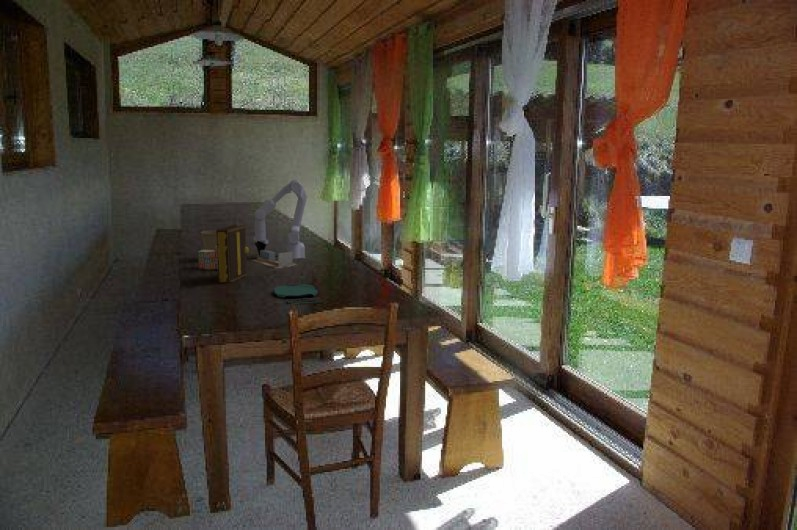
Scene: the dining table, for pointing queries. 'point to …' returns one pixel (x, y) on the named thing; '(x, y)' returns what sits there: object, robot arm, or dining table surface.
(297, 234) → the robot arm
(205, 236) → the plant pot
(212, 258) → the stack of blocks
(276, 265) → the shelf slot
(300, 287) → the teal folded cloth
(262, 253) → the blue-grey rectangular block
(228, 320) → the dining table surface
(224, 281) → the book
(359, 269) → the dining table surface
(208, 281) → the dining table surface
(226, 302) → the dining table surface
